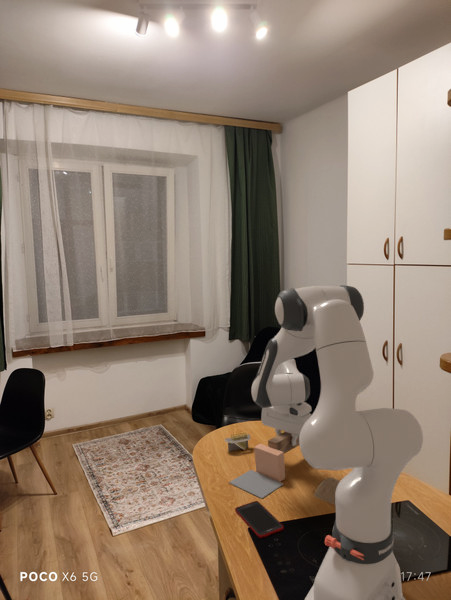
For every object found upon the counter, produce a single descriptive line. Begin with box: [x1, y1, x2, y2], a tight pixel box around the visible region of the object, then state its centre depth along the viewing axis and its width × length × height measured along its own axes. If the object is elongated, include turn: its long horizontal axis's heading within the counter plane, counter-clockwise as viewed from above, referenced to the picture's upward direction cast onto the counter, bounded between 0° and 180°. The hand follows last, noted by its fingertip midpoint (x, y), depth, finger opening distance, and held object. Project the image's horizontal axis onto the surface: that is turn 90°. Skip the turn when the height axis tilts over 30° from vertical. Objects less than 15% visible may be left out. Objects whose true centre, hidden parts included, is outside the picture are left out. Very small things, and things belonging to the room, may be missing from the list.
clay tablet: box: [313, 477, 341, 506], centre depth 129 cm, size 14×10×3 cm
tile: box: [253, 443, 286, 482], centre depth 141 cm, size 3×10×9 cm, turn 44°
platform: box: [224, 432, 251, 452], centre depth 160 cm, size 12×18×7 cm, turn 107°
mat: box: [228, 469, 284, 500], centre depth 136 cm, size 10×14×1 cm
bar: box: [267, 432, 300, 454], centre depth 147 cm, size 16×4×5 cm, turn 134°
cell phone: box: [234, 500, 284, 539], centre depth 118 cm, size 8×15×1 cm, turn 26°
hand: (287, 443), depth 147 cm, fingers closed on bar, 3 cm apart
